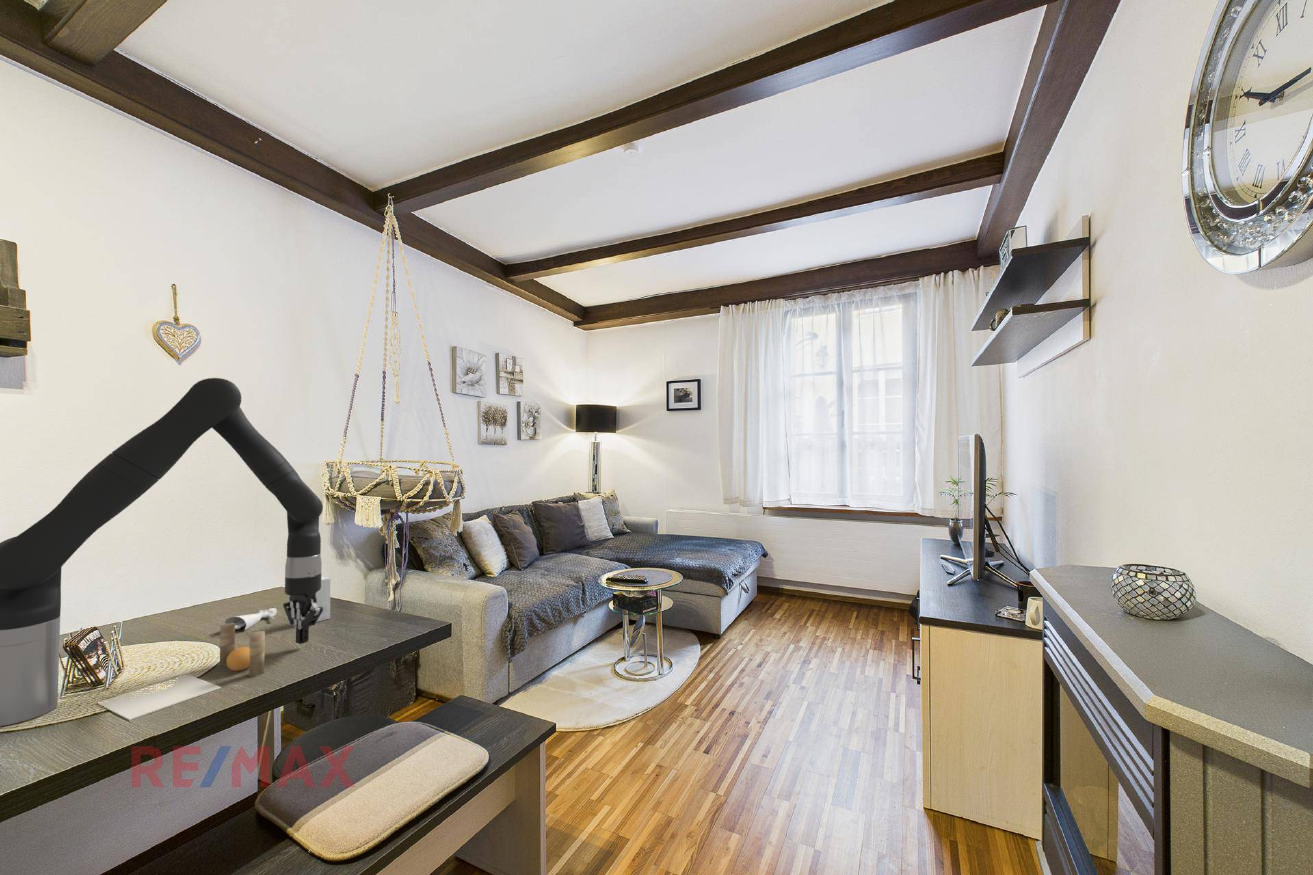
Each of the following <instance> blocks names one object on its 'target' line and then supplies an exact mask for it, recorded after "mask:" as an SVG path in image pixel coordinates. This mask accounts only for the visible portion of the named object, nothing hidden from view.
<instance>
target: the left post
mask: <svg viewBox="0 0 1313 875" xmlns="http://www.w3.org/2000/svg"><path fill="white" fill-rule="evenodd" d="M222 624H223V623H222ZM222 624H221V625H220V639H219V667H228V666H227V663H226V661H227V657H228V655H229V654H230V653H231V652H232V651H233V650H235V649H236V648H235V646H236V629H235V623H227V624H223V625H222Z"/></svg>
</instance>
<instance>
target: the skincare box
mask: <svg viewBox="0 0 1313 875" xmlns="http://www.w3.org/2000/svg"><path fill="white" fill-rule="evenodd" d="M316 598H317V603H316V604H317V606H318V607H323V611H322V613H321V615H320V617H319V618H318V620H317V622H316V623H319V622H323V621H326V620H329V619H331V578H330V577H327V576H321V589H320V590H319V591H317V592H316ZM318 621H319V622H318Z"/></svg>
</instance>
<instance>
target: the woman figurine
mask: <svg viewBox="0 0 1313 875" xmlns="http://www.w3.org/2000/svg"><path fill="white" fill-rule="evenodd" d="M277 613H278V609H277V608H276V607H275V606H272V607H270V608H269V607H268V609H264V610H262V609H260V610H259V611H258V613H250V614H245V615H243V614H241V615H237V616H236V615H235V616H230V617H228V618H226V619H225V621H224V622H223V623H222V624H221V625H223V624H227V623H235V630H239V629H241V628H242V627H243V628H244V627H245V628H244V631H246V630H248V629H250V628H251V627H254V626H255V625H256V624H257V623H258V622H259V621H260V620H261V619H267V618H268V619H272V621H274V620H275V617H274V616H276V615H277Z"/></svg>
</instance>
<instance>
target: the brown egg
mask: <svg viewBox="0 0 1313 875" xmlns="http://www.w3.org/2000/svg"><path fill="white" fill-rule="evenodd" d="M249 662H250V646H240V647H236V648H235V650H233V651H232V652H231V653H230V654H229V655H228V657H227V661H226V663H227V666H226V667H227V668H228V669H229V670H231V671H236V672H237V671H243V670H245V669H247V668H249Z"/></svg>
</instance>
